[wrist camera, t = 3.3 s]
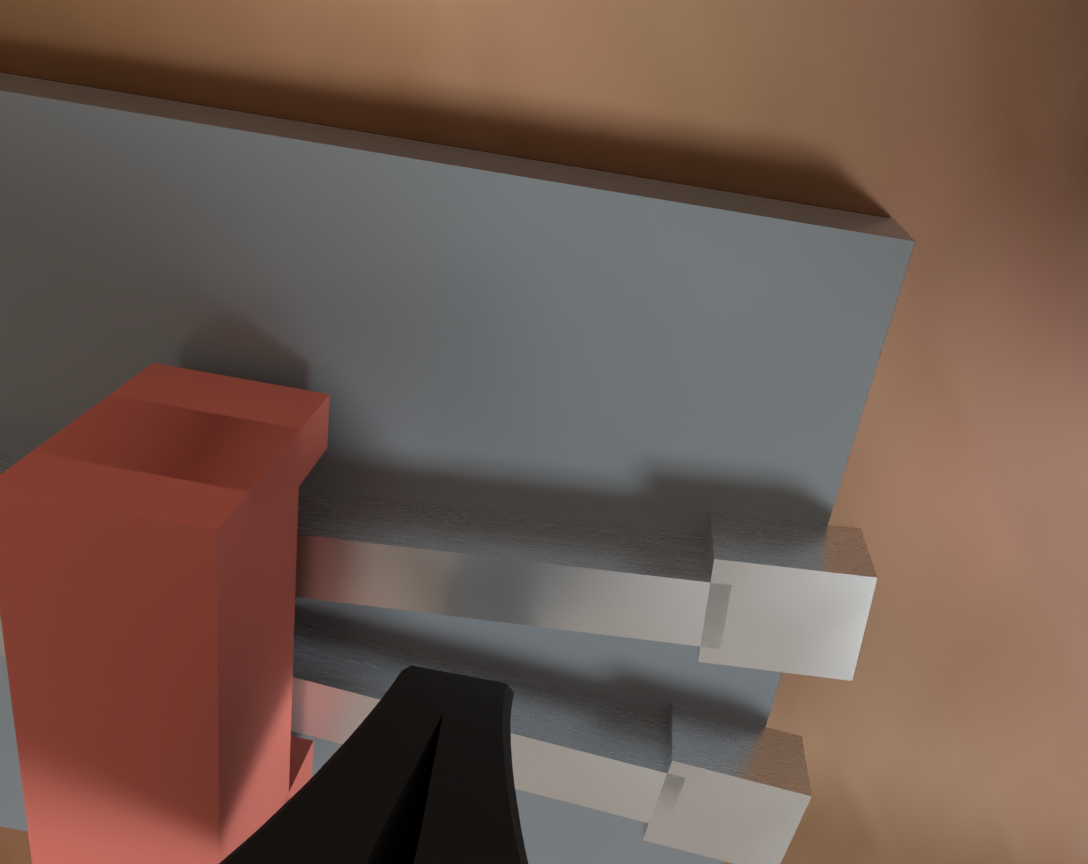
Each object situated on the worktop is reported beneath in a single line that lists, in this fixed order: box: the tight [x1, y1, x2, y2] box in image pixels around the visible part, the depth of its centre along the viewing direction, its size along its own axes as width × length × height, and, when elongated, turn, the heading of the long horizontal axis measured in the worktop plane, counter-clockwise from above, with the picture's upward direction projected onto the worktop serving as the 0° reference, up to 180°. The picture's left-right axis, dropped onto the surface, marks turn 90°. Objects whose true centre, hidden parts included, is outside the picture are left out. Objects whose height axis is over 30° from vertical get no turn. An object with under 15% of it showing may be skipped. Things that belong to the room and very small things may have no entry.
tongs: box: [0, 454, 877, 864], centre depth 14 cm, size 21×5×1 cm, turn 82°
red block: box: [0, 363, 330, 864], centre depth 13 cm, size 2×7×4 cm, turn 172°
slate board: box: [0, 72, 915, 864], centre depth 15 cm, size 20×13×1 cm, turn 82°
